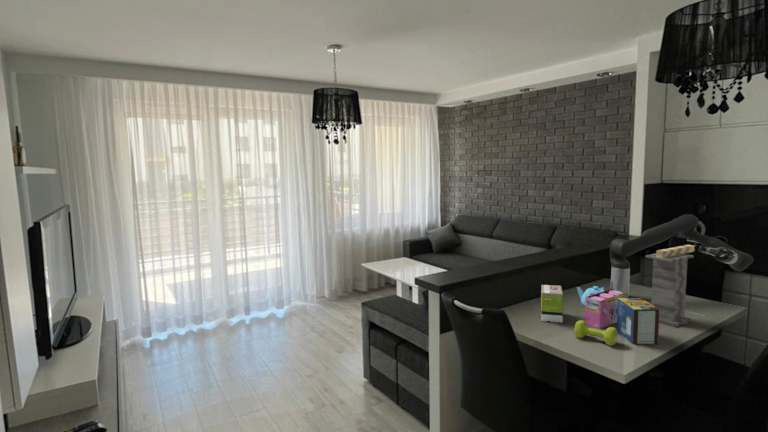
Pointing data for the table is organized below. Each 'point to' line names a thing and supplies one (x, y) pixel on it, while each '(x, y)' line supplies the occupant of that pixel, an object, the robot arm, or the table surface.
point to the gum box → (602, 308)
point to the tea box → (551, 303)
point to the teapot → (588, 293)
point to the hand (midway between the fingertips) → (709, 249)
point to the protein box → (638, 321)
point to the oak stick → (675, 251)
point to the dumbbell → (596, 332)
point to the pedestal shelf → (670, 288)
